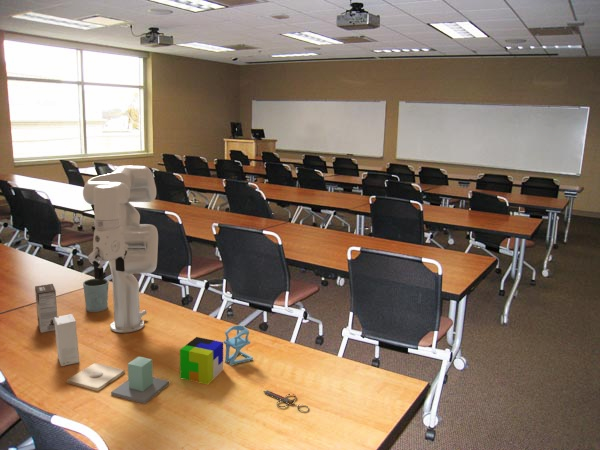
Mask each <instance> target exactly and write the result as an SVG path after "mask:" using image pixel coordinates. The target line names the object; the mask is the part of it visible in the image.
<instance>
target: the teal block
mask: <svg viewBox="0 0 600 450" xmlns="http://www.w3.org/2000/svg"><path fill="white" fill-rule="evenodd" d="M153 366H154V365H153V359H152V358H147V357H143V356H137V357H135V358H133V360H130V361H129V362H128V363H127V372H128V373H127V374H128V375H127V376H128V379H127V380H129V388H131V389H135V390H139V391H142V392H143V391H144V390H145V389H147V388H148V387H149V386H150V385H152V384H153V377H154V373H153V372H154V371H153V370H154V368H153Z"/></svg>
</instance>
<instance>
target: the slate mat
mask: <svg viewBox="0 0 600 450" xmlns="http://www.w3.org/2000/svg"><path fill="white" fill-rule="evenodd" d="M168 385H170V380H166V379H163V378H158V377H154V376H153V384H152V385H150V386H149V387H148V388H147V389H145V390H144V391H143V392H142V391H139V390H135V389H131V388H129V380H128V379H127V380H126V381H124V382H123V383H121V385H120V384H119V386H117V387H116V388H114V389H113V390H112V391H110V395H111V396H113V397H118V398H122V399H124V400H125V399H126V400H128V401H132V402H137V403H140V404H144V405H145V404H147V403H148V402H150V400H152V399H153V398H154V397H155V396H156V395H157V394H159V393H161V391H163V390H164V389H165V388H167V387H168Z"/></svg>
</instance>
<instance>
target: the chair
mask: <svg viewBox="0 0 600 450" xmlns="http://www.w3.org/2000/svg"><path fill="white" fill-rule="evenodd" d="M233 330H235V331H236V335H235V336H233V337H231V338H230V337H229V335H228V334H229V333H230V332H231V331H233ZM224 334H225V337H226V339H225V340H223V345H224V344H225V356H224V363H226V364H227V363H229V366H234V365H233V364H235V365H237V364H236V363H239V364H241V363H240V362H243V363H246V362H245V361H248V362H250V361H249V360H252V359H254V358H253V356H251V355H249V354H247V353H245V352H243V351H241V350H242V349H243V348H244V347H246V346H248V345H251V340H249V339H248V338H249V334H250V330H249V329H248V328H247V327H245V326H244V325H234V326H230V327H229V328H228V329H227V330H226V331H224ZM244 335H245V337H244V338H243V337H242V336H244ZM231 348H232V349H235V351H234V353H232V355H230V351H231ZM238 353H240V354H238ZM241 354H242V355H241ZM238 355H241V356H243V355H244V356H243V357H245V356H246V357H245V358H241V359H237V356H238ZM247 357H248V358H247ZM236 359H237V360H236ZM228 361H229V362H228ZM252 361H253V360H252Z"/></svg>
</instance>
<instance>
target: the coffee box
mask: <svg viewBox="0 0 600 450" xmlns="http://www.w3.org/2000/svg"><path fill="white" fill-rule="evenodd" d="M34 292H35V303H36V304H35V305H36V317H37V325H38V328H39V331H40V334H42V333H47V332H52V331H53V332H54V331H55V323H54V317H58V307H57V292H56V288H55V286H54V284H53V283H49V284H48V283H47V284H42V285H36V286H34Z"/></svg>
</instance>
